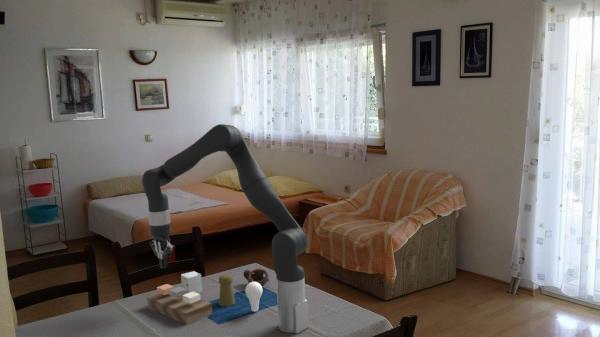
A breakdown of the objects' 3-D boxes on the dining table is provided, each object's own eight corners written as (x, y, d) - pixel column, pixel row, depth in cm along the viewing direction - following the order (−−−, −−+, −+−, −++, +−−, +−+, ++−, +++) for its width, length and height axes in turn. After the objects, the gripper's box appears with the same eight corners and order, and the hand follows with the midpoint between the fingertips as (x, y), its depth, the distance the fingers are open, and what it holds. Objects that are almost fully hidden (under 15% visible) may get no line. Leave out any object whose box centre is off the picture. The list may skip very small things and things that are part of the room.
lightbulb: (253, 306, 190) (251, 278, 188) (266, 310, 187) (265, 280, 185) (243, 313, 185) (241, 283, 183) (257, 316, 182) (255, 286, 180)
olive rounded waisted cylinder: (236, 299, 197) (235, 272, 195) (233, 306, 191) (231, 277, 189) (221, 299, 197) (219, 272, 196) (217, 306, 191) (215, 277, 190)
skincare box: (181, 292, 207) (180, 274, 206) (195, 287, 211) (194, 270, 210) (189, 296, 202) (187, 278, 201) (202, 292, 206) (201, 274, 205)
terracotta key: (174, 291, 194) (173, 286, 193) (164, 295, 190) (163, 290, 190) (167, 288, 196) (166, 283, 196) (157, 292, 193) (156, 287, 193)
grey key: (187, 294, 188) (186, 289, 188) (176, 298, 185) (176, 292, 185) (179, 291, 191) (179, 286, 191) (169, 295, 188) (169, 290, 188)
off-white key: (200, 299, 183) (200, 294, 183) (190, 303, 180) (190, 298, 179) (193, 296, 186) (192, 291, 186) (182, 300, 183) (182, 295, 182)
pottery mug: (274, 283, 214) (273, 270, 209) (262, 300, 207) (261, 287, 202) (248, 273, 218) (247, 260, 213) (237, 289, 211) (235, 276, 206)
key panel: (212, 313, 185) (211, 303, 185) (187, 324, 177) (186, 313, 176) (172, 298, 201) (172, 288, 200) (147, 307, 193) (147, 297, 192)
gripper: (179, 222, 188) (182, 268, 190) (158, 217, 197) (162, 261, 199) (161, 226, 182) (165, 274, 185) (140, 222, 191) (144, 267, 193)
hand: (163, 267), depth 192 cm, fingers closed
